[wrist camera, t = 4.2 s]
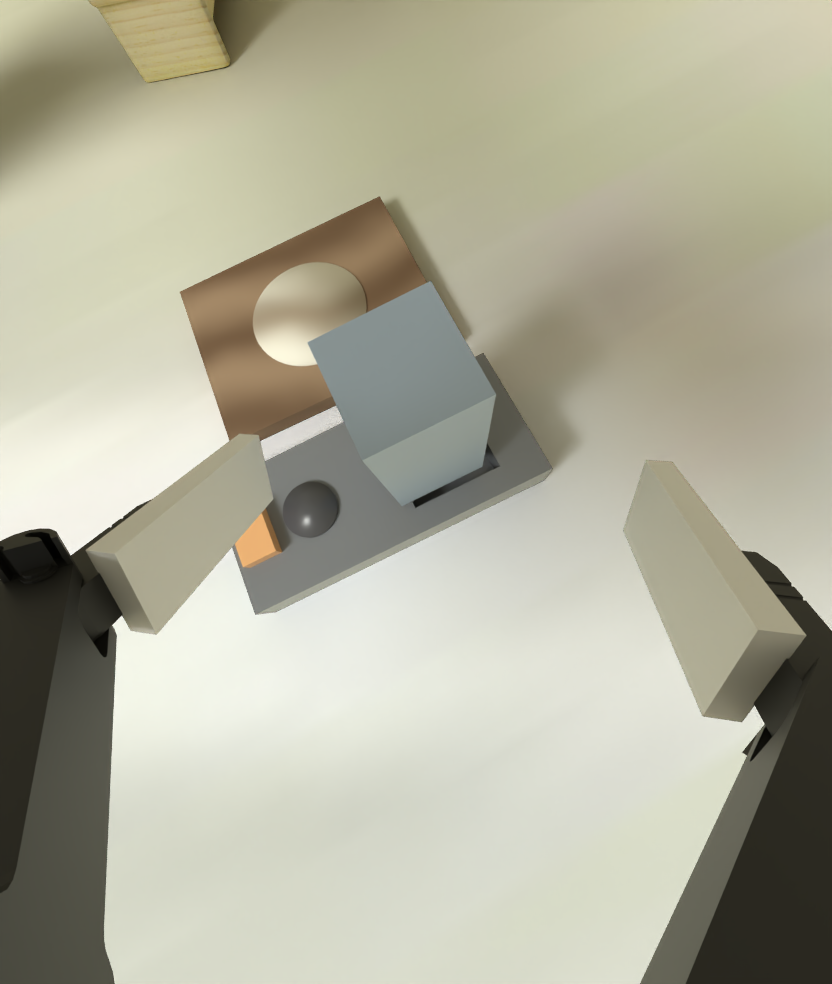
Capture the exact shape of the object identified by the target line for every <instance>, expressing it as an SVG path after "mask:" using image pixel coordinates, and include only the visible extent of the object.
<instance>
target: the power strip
mask: <svg viewBox="0 0 832 984" xmlns="http://www.w3.org/2000/svg"><path fill="white" fill-rule="evenodd" d="M475 358H476V360H477V362H478V364H479V365H480V367H481V369H482V371H483V372H484V374H485V376H486V378H487V379H488V381H489V383H490V385H491V386H492V388H493V390H494V392H495V393H496V397H495V403H494V408H493V413H492V418H491V424H490V429H489V434H488V440H487V445H486V450H485V455H484V461H483V466H482V467H481V468H479V469H477V470H475V471H473V472H471V473H469V474H467V475H465V476H463V477H461V478H458V479H456V480H454V481H452V482H450V483H448V484H446V485H444V486H442V487H440V488H438V489H436V490H434V491H432V492H430V493H428V494H426V495H424V496H422V497H420V498H418V499H416V500H414V501H412V502H410V503H408V504H406V505H404V506H401V505H400V503H399V502H398V501H397V500H396V499H395V498H394V497H393V495H392V494H391V493H390V492H389V491H388V490H387V489H386V487H385V486H384V485H383V484H382V483H381V482H380V481H379V479H378V478H377V477H376V476H375V475H374V474H373V473H372V471H371V470H370V469H369V468H368V467H367V466H366V465H365V463H364V462H363V461H362V459H361V457H360V455H359V453H358V451H357V449H356V447H355V444H354V442H353V440H352V438H351V436H350V434H349V431H348V429H347V427H346V425H345V423H344V422H343V423H341V424H339V425H337V426H335V427H333V428H331V429H329V430H327V431H325V432H323V433H321V434H319V435H317V436H315V437H313V438H311V439H309V440H307V441H305V442H303V443H301V444H299V445H297V446H295V447H293V448H291V449H289V450H287V451H285V452H283V453H281V454H279V455H277V456H275V457H273V458H271V459H269V460H267V461H265V465H266V469H267V473H268V478H269V482H270V486H271V491H272V495H273V500H272V501H271V502H270V504H269V505H268V506H267V507H266V508H265V509H264V511H263V512H262V513H261V514H260V515H259V516H258V518H257V519H256V520H255V521H254V522H253V523H252V524H251V526H250V527H249V528H248V529H247V530H246V531H245V533H244V534H243V535H242V536H241V537H240V538H239V540H238V541H237V542H236V543H235V544H234V545H233V547H232V548H233V551H234V554H235V557H236V560H237V563H238V566H239V568H240V571H241V574H242V577H243V580H244V583H245V586H246V589H247V592H248V595H249V598H250V601H251V604H252V607H253V609H254V612H255V615H257V614H265V613H273V612H277V611H279V610H281V609H283V608H285V607H287V606H289V605H291V604H293V603H296V602H298V601H300V600H302V599H304V598H306V597H308V596H310V595H312V594H314V593H316V592H318V591H320V590H322V589H324V588H326V587H328V586H330V585H332V584H334V583H336V582H338V581H340V580H342V579H344V578H346V577H348V576H350V575H352V574H355V573H357V572H359V571H361V570H363V569H365V568H367V567H369V566H371V565H373V564H375V563H377V562H379V561H381V560H383V559H385V558H387V557H389V556H391V555H393V554H395V553H397V552H399V551H401V550H403V549H405V548H407V547H409V546H411V545H414V544H416V543H418V542H420V541H422V540H424V539H426V538H428V537H430V536H432V535H434V534H436V533H438V532H440V531H442V530H444V529H446V528H448V527H450V526H452V525H454V524H456V523H458V522H460V521H462V520H464V519H466V518H468V517H471V516H473V515H475V514H477V513H479V512H481V511H483V510H485V509H487V508H489V507H491V506H493V505H495V504H497V503H499V502H501V501H503V500H505V499H507V498H509V497H511V496H513V495H515V494H517V493H519V492H521V491H523V490H525V489H527V488H530V487H532V486H534V485H536V484H538V483H540V482H542V481H544V480H545V479H546V477H547V476H548V474H549V473H550V471H551V470H552V469H553V468H552V467H551V465H550V463H549V462H548V460H547V458H546V457H545V455H544V453H543V452H542V450H541V448H540V447H539V445H538V443H537V442H536V440H535V438H534V437H533V435H532V433H531V432H530V430H529V428H528V427H527V425H526V423H525V422H524V420H523V418H522V417H521V415H520V413H519V412H518V410H517V408H516V407H515V405H514V403H513V402H512V400H511V398H510V396H509V395H508V393H507V391H506V390H505V388H504V386H503V385H502V383H501V381H500V380H499V378H498V376H497V375H496V373H495V371H494V370H493V368H492V366H491V365H490V363H489V361H488V360H487V358H486V356H485V355H484V353H482V354H480V355H478V356H476V357H475Z"/></svg>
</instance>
